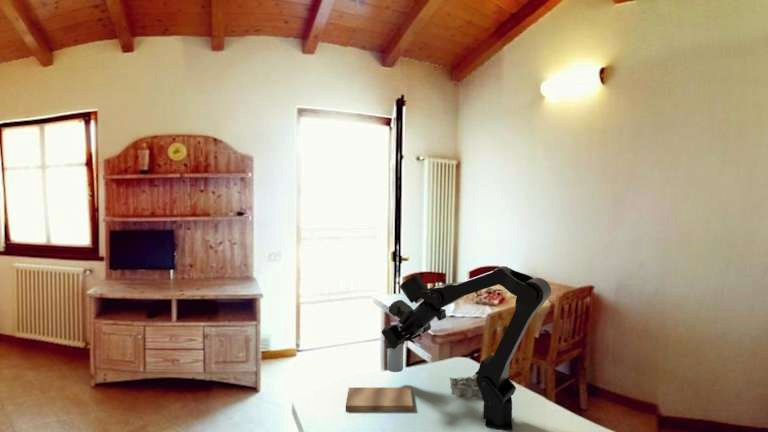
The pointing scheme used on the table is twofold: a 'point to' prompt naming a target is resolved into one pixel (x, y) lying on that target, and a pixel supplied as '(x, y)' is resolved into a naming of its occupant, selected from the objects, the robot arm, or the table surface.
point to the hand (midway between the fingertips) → (391, 344)
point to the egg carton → (464, 386)
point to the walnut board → (379, 399)
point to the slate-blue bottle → (395, 356)
